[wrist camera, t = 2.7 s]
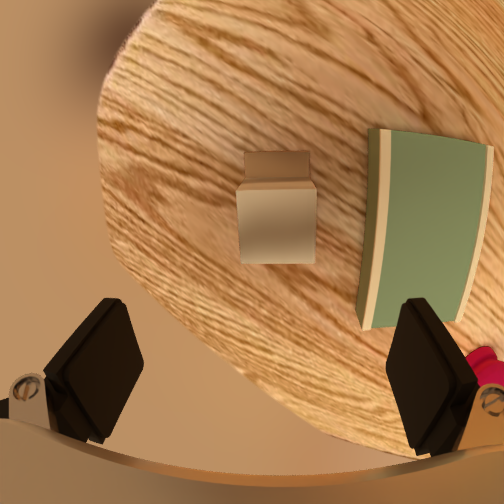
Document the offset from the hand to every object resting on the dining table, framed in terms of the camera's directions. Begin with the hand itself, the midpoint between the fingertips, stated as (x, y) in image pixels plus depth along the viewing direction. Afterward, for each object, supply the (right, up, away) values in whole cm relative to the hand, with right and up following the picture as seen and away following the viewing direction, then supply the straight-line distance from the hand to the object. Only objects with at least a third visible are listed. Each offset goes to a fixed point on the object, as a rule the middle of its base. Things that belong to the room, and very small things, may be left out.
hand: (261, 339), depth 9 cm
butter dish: (+2, +7, +15) cm, 17 cm away
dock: (+15, +5, +15) cm, 21 cm away
